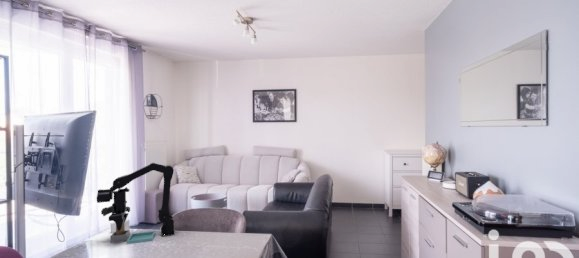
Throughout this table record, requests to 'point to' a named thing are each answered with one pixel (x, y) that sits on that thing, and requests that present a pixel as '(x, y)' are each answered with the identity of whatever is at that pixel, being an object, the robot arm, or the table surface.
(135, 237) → the tray
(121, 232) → the walnut dowel
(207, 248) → the table surface
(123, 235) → the grey square open box
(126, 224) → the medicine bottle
